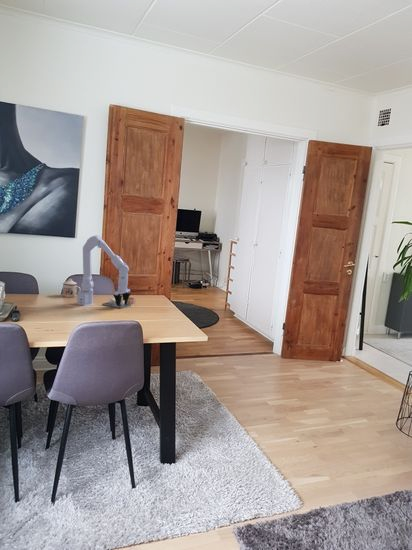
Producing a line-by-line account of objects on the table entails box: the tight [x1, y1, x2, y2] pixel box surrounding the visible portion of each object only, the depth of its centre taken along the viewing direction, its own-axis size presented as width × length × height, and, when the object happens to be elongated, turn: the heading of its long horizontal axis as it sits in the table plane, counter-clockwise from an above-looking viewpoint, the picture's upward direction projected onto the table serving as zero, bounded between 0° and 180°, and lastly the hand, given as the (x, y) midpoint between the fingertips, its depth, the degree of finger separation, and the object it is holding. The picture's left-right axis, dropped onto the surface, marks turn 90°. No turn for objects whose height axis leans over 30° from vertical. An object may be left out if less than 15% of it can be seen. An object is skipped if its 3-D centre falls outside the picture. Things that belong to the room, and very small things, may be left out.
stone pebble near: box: [109, 297, 116, 305], centre depth 272 cm, size 4×4×4 cm
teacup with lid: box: [62, 278, 82, 298], centre depth 286 cm, size 12×9×12 cm
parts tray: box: [101, 300, 132, 310], centre depth 271 cm, size 12×14×2 cm
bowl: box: [121, 296, 137, 305], centre depth 283 cm, size 10×10×3 cm
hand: (121, 304), depth 270 cm, fingers open, 7 cm apart
